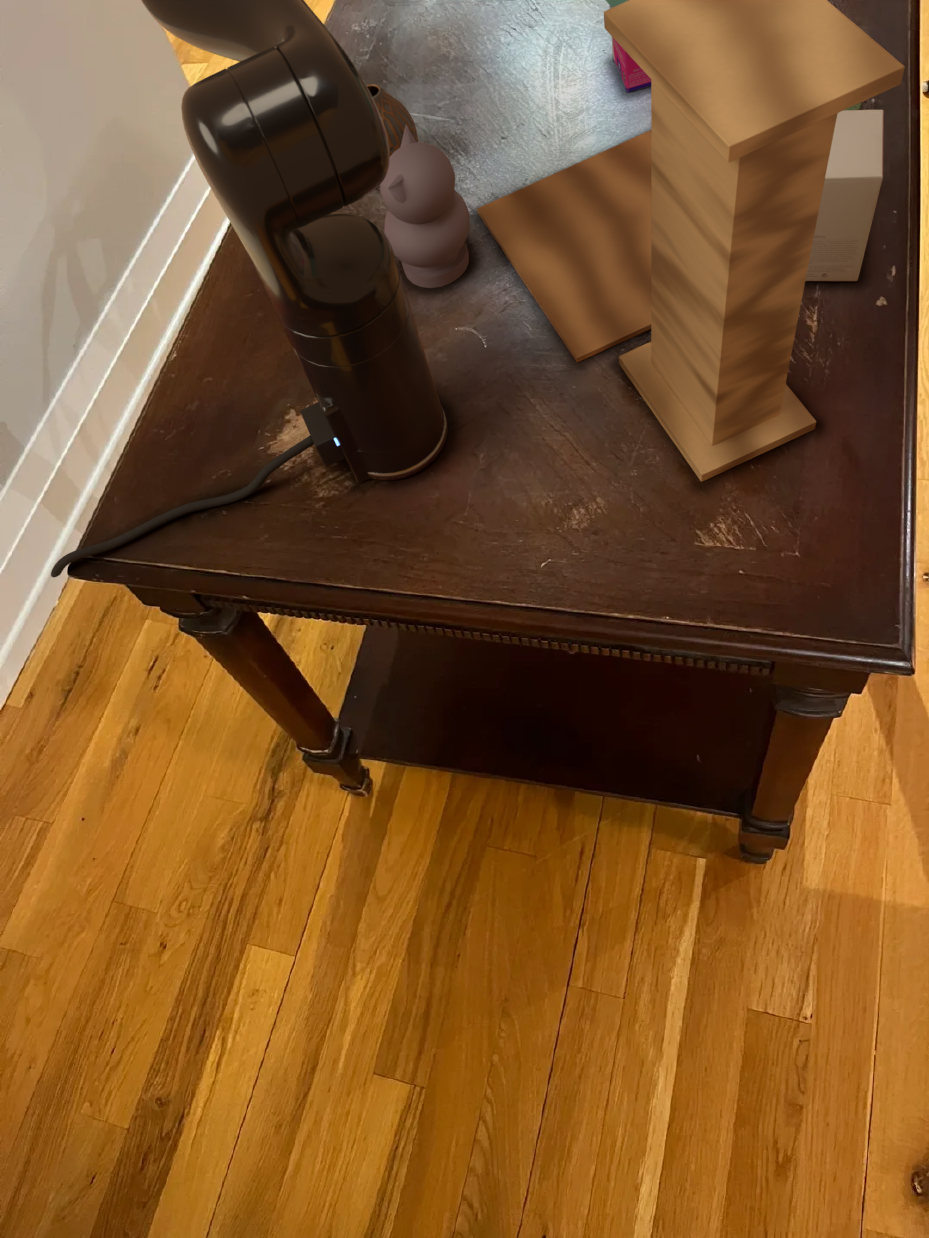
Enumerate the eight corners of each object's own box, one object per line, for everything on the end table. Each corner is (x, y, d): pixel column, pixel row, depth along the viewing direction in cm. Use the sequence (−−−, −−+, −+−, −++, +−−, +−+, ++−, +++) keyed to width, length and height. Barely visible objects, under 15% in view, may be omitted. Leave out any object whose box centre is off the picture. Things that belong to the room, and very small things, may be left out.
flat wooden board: (577, 363, 81) (576, 358, 81) (477, 213, 92) (476, 208, 91) (783, 268, 82) (784, 262, 81) (661, 130, 92) (661, 124, 92)
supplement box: (610, 61, 98) (605, -56, 88) (665, 45, 98) (667, -74, 88) (624, 95, 95) (621, -22, 85) (681, 79, 95) (685, -41, 85)
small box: (857, 284, 80) (884, 178, 70) (788, 283, 81) (806, 179, 72) (860, 216, 83) (886, 106, 74) (793, 216, 84) (811, 109, 75)
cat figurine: (470, 297, 87) (445, 188, 76) (389, 298, 89) (354, 191, 78) (483, 230, 90) (461, 117, 80) (405, 232, 92) (374, 122, 82)
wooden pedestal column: (701, 482, 74) (729, 146, 47) (619, 364, 80) (603, 11, 54) (814, 429, 74) (905, 66, 48) (723, 316, 81) (758, -59, 54)
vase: (351, 164, 98) (325, 85, 90) (411, 138, 98) (391, 58, 91) (371, 203, 95) (346, 125, 87) (433, 177, 95) (414, 97, 87)
